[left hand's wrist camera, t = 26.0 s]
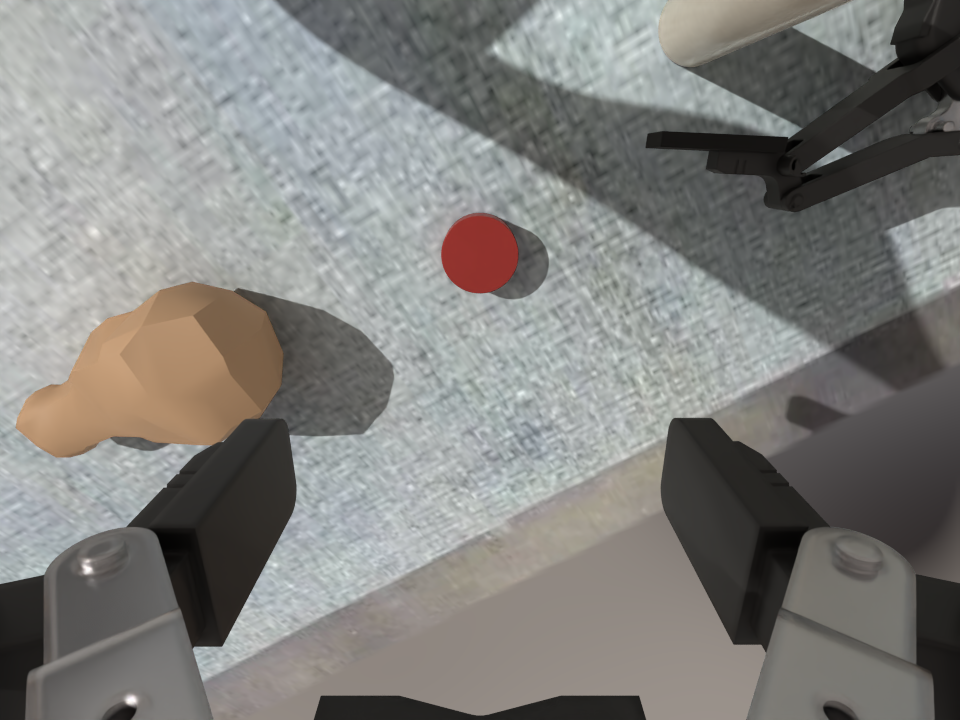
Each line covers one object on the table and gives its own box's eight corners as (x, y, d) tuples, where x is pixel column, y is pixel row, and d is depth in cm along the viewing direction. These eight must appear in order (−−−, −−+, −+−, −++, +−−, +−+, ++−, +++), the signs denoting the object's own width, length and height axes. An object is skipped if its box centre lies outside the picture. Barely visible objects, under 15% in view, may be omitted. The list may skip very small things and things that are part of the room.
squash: (332, 365, 40) (291, 446, 33) (139, 447, 46) (66, 533, 38) (237, 239, 35) (162, 301, 27) (33, 349, 40) (-76, 425, 33)
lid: (470, 197, 36) (469, 199, 34) (531, 241, 37) (533, 245, 35) (429, 259, 37) (426, 265, 35) (488, 299, 38) (489, 307, 36)
